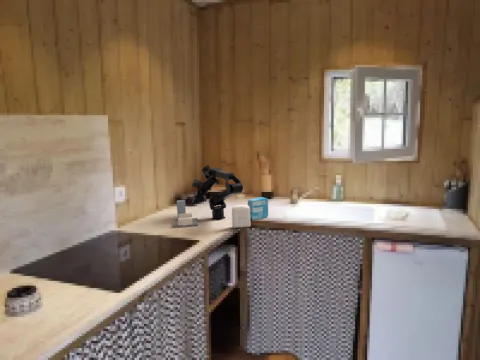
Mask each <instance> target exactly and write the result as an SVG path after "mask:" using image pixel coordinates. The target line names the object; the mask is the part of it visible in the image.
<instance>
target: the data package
mask: <svg viewBox="0 0 480 360" xmlns="http://www.w3.org/2000/svg"><path fill="white" fill-rule="evenodd" d="M247 206H249V208H250V220H252V221H256V220H257V221H258V220H260V219H267V218H268V217H269V199H268V197H263V196H262V197H256V198H255V197H254V198H251V199H248V200H247Z"/></svg>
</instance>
